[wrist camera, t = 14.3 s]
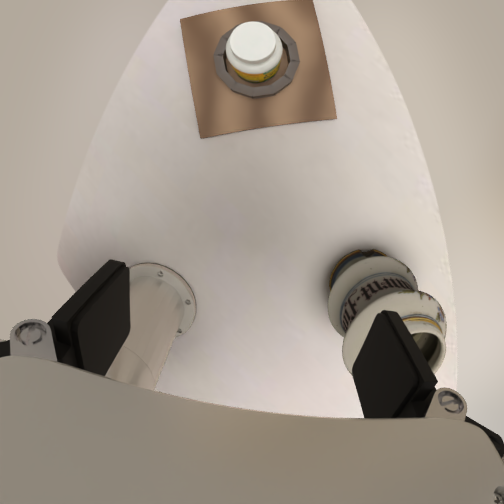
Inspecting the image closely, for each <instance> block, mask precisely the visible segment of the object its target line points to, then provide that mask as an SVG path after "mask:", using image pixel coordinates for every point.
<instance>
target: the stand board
mask: <svg viewBox="0 0 504 504" xmlns="http://www.w3.org/2000/svg"><path fill="white" fill-rule="evenodd" d="M252 21H253V22H260V23H263V24H265V25H267V26H268V27H270V28H271V29H272V30H273V31H274V32H275V33H276V34H277V35H278V36H279V38H280V40H281V43H282V48H283V51H282V57H281V62H280V66H279V69H278V71H277V73H276V74H275V76H274V77H273V78H271V79H270V80H268V81H266V82H262V83H250V82H247V81H245V80H243V79H241V78H240V77H239V76H238V75H237V73H236V72H235V70H234V69H233V67H232V65H231V63H230V62H229V60H228V58H227V55H226V44H227V41H228V39H229V37H230V36H231V34H232V32H233V30H234V29H235V28H236V27H238V26H239V25H241V24H243V23H246V22H252ZM180 23H181V29H182V35H183V41H184V48H185V54H186V60H187V66H188V72H189V77H190V83H191V89H192V95H193V100H194V106H195V111H196V117H197V122H198V128H199V133H200V138H207V137H211V136H217V135H222V134H227V133H232V132H238V131H244V130H250V129H256V128H263V127H269V126H276V125H284V124H292V123H300V122H309V121H318V120H329V119H337V116H336V109H335V103H334V97H333V91H332V86H331V80H330V75H329V70H328V65H327V60H326V55H325V50H324V46H323V41H322V37H321V32H320V28H319V24H318V20H317V16H316V12H315V8H314V4H313V0H287V1H276V2H267V3H259V4H252V5H245V6H239V7H233V8H228V9H222V10H217V11H213V12H208V13H204V14H199V15H195V16H191V17H187V18H183V19H180Z"/></svg>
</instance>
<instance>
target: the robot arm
mask: <svg viewBox="0 0 504 504" xmlns="http://www.w3.org/2000/svg"><path fill="white" fill-rule="evenodd" d="M161 271H162V272H163V273H162V272H161ZM195 313H196V303H195V298H194V295H193V293H192V291H191V289H190V287H189V286H188V284H187V283H186V282H185V281H184V280H183V279H182V278H181V277H180V276H179V275H178V274H176V273H175V272H174V271H172V270H170V269H168V268H166V267H164V266H161V265H158V264H151V263H145V264H138V265H135V266H133V267H131V268H128V267H126V265H125V263H124V262H120V261H115V260H109V261H108V262H107V263H106V264H105V265H103V266H102V267H101V268H100V269H99V270H98V271H97V272H96V273H95V274H94V275H93V276H92V277H91V278H90V279H89V280H88V281H87V282H86V283H85V284H84V285H83V286H82V287H81V288H80V289H79V290H78V291H77V292H76V293H75V294H74V295H73V296H72V297H71V298H70V299H69V300H68V301H67V302H66V303H65V304H64V305H63V306H62V307H61V308H60V309H59V310H58V311H57V312H56V313H55V314H54V315H53V316H52V319H51V320H50V321H49V322H48V323H46V322H44V321H42V320H37V319H28V320H24V321H22V322H20V323H18V324H17V325H15V326H14V327H13V329H12V330H11V333H10V340H8V341H6V340H1V339H0V504H504V443H503V440H502V438H501V437H500V436H499V435H498V434H496V433H494V432H492V431H491V430H489V429H487V428H486V427H484V426H482V425H481V424H479V423H477V422H476V421H474V420H472V419H470V418H469V417H467V416H466V413H467V404H466V402H465V400H464V398H463V397H462V396H461V395H460V394H459V393H458V392H456V391H455V390H452V389H450V388H440V389H438V390H436V388H435V385H436V384H437V382H438V381H437V379H436V377H435V375H434V373H433V372H432V370H431V368H430V366H429V364H428V363H427V361H426V359H425V357H424V356H423V354H422V352H421V350H420V349H419V347H418V345H417V344H416V342H415V340H414V338H413V337H412V335H411V333H410V332H409V330H408V328H407V327H406V325H405V324H404V322H403V320H402V319H401V317H400V315H399V314H398V313H397V312H395V311H388V310H382V311H381V313H378V314H377V315H376V316H375V319H374V321H373V323H372V326H371V328H370V330H369V332H368V335H367V337H366V339H365V341H364V343H363V345H362V347H361V350H360V352H359V354H358V356H357V358H356V360H355V362H354V364H353V367H352V375H353V379H354V382H355V386H356V389H357V393H358V396H359V400H360V403H361V407H362V411H363V414H364V418H333V417H316V416H303V415H292V414H282V413H273V412H265V411H257V410H250V409H243V408H236V407H230V406H224V405H219V404H213V403H208V402H203V401H198V400H193V399H188V398H183V397H179V396H174V395H170V394H166V393H162V392H158V391H154V389H155V386H156V384H157V381H158V379H159V376H160V373H161V371H162V368H163V366H164V363H165V361H166V358H167V356H168V353H169V351H170V348H171V346H172V343H173V341H174V338H176V337H178V336H180V335H182V334H184V333H185V332H186V331H187V330H188V329H189V328H190V326H191V325H192V323H193V320H194V317H195Z"/></svg>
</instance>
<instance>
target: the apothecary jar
mask: <svg viewBox="0 0 504 504" xmlns="http://www.w3.org/2000/svg"><path fill="white" fill-rule="evenodd" d="M329 287H330V295H329V299H328V315H329V318H330V321H331V323H332V325H333V327H334V328H335V330H336V331H337V332H338V333H339V334H340V335H341V336H343V337H344V341H343V346H342V355H343V360H344V364H345V366H346V368H347V369H348V371H349V372H350V373H351V375H352V367H353V364H354V362H355V360H356V358H357V356H358V354H359V352H360V350H361V347H362V345H363V343H364V341H365V339H366V337H367V335H368V332H369V330H370V328H371V326H372V323H373V321H374V319H375V316H376V315H377V314H378V313H381V311H382V310H388V311H395V312H397V313H398V314H399V315H400V317H401V319H402V320H403V322H404V324H405V325H406V327H407V328H408V330H409V332H410V333H411V335H412V337H413V338H414V340H415V342H416V344H417V345H418V347H419V349H420V350H421V352H422V354H423V356H424V357H425V359H426V361H427V363H428V364H429V366H430V368H431V370H432V372H433V373H434V374H435V373H436V372H437V370H438V369H439V367H440V366H441V364H442V362H443V360H444V357H445V353H446V343H445V336H446V317H445V314H444V311H443V309H442V307H441V305H440V304H439V303H438V301H437V300H436V299H434V298H433V297H432V296H430V295H429V294H427V293H425V292H422V291H418V286H417V282H416V279H415V277H414V275H413V273H412V272H411V270H410V269H409V268H408V267H407V266H406V265H405V264H403V263H402V262H400V261H398V260H396V259H394V258H391V257H388V256H386V255H385V254H384V253H382V252H380V251H378V250H374V249H372V250H370V251H367V252H362V251H360V250H357V251H354V252H352V253H350V254H348V255H346V256H345V257H344V258H342V259H341V260H340V261H339V262H338V264H337V265H336V266H335V268H334V270H333V272H332V274H331V277H330V283H329ZM352 376H353V375H352Z"/></svg>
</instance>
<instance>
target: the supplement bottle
mask: <svg viewBox="0 0 504 504" xmlns="http://www.w3.org/2000/svg"><path fill="white" fill-rule="evenodd" d="M282 51H283V48H282V43H281V40H280V38H279V36H278V35H277V34H276V33H275V32H274V31H273V30H272V29H271V28H270V27H268V26H267V25H265V24H263V23H260V22H253V21H252V22H246V23H243V24H241V25H239V26H238V27H236V28H235V29H234V30H233V32H232V34H231V36H230V37H229V39H228V41H227V44H226V55H227V58H228V60H229V62H230V63H231V65H232V67H233V69H234V70H235V72H236V73H237V75H238V76H239V77H240V78H241V79H243V80H245V81H247V82H250V83H262V82H266V81H268V80H270V79H271V78H273V77H274V76H275V74H276V73H277V71H278V69H279V66H280V62H281V57H282Z"/></svg>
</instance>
